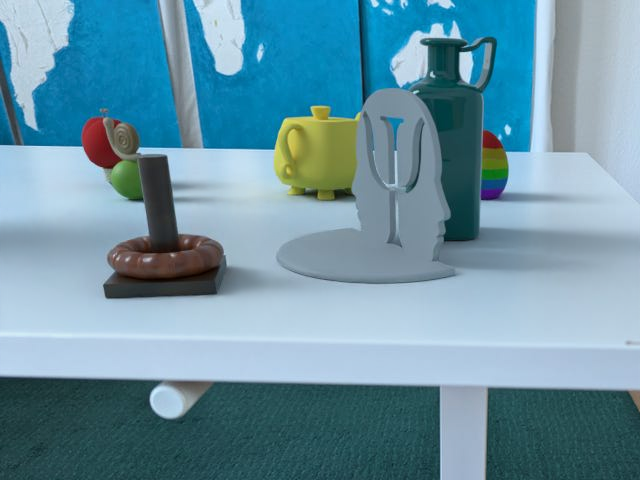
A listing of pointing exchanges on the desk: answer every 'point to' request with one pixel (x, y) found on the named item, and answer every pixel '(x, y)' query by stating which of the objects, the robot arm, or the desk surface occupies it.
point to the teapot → (317, 153)
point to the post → (162, 239)
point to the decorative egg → (493, 167)
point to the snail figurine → (124, 158)
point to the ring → (165, 258)
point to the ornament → (385, 203)
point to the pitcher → (456, 128)
